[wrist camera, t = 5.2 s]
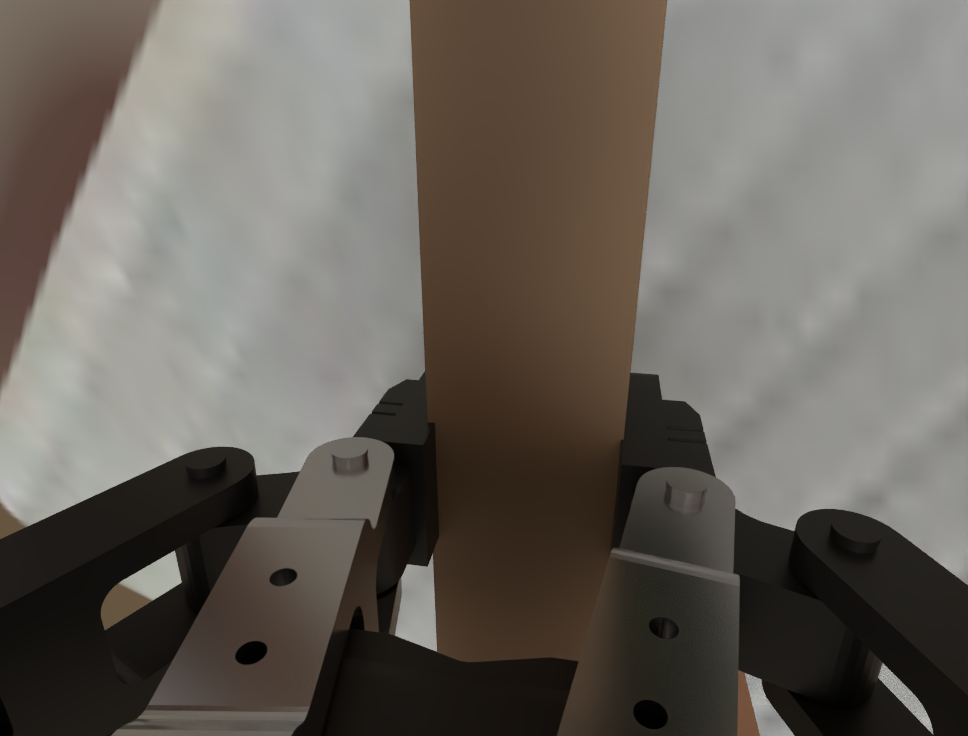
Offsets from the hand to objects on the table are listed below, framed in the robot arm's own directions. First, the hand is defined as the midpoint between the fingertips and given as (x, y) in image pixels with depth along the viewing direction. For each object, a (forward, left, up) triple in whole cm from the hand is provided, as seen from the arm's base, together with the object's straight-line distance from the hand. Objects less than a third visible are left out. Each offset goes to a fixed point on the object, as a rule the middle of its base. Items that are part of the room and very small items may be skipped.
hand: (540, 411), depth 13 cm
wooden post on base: (0, +2, -1) cm, 2 cm away
